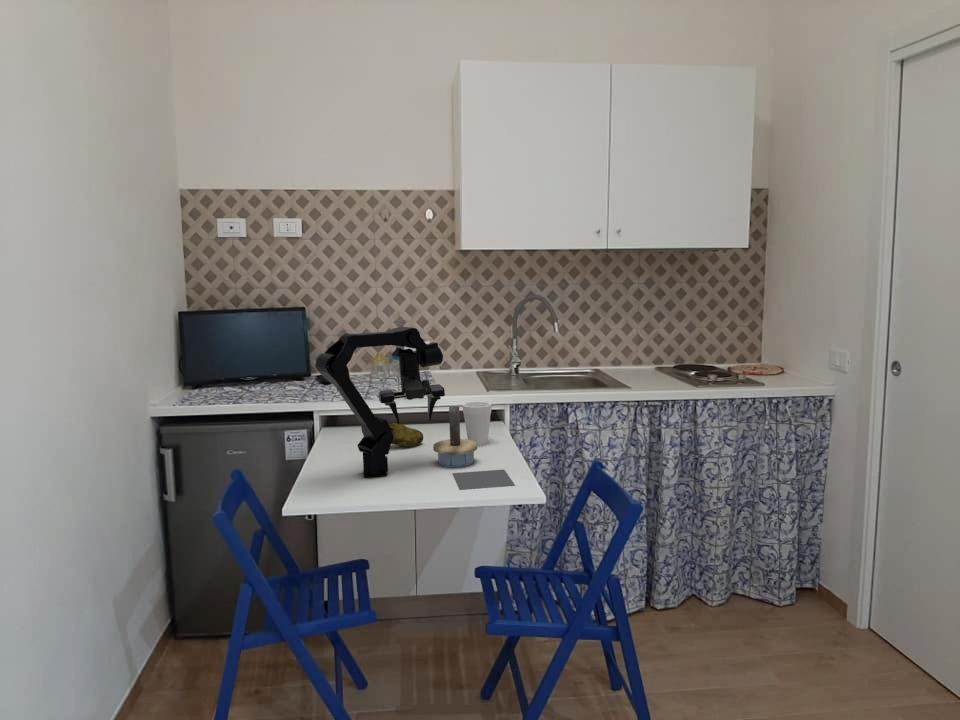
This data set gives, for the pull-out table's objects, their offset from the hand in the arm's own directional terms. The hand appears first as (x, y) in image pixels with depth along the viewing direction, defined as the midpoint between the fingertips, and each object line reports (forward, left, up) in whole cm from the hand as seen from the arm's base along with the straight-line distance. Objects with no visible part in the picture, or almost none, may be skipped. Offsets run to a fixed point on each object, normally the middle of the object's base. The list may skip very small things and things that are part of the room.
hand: (414, 422), depth 215 cm
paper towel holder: (+12, -1, -8) cm, 15 cm away
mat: (+17, -19, -13) cm, 29 cm away
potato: (-2, +22, -13) cm, 26 cm away
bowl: (+12, -1, -13) cm, 18 cm away
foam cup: (+22, +20, -13) cm, 32 cm away
